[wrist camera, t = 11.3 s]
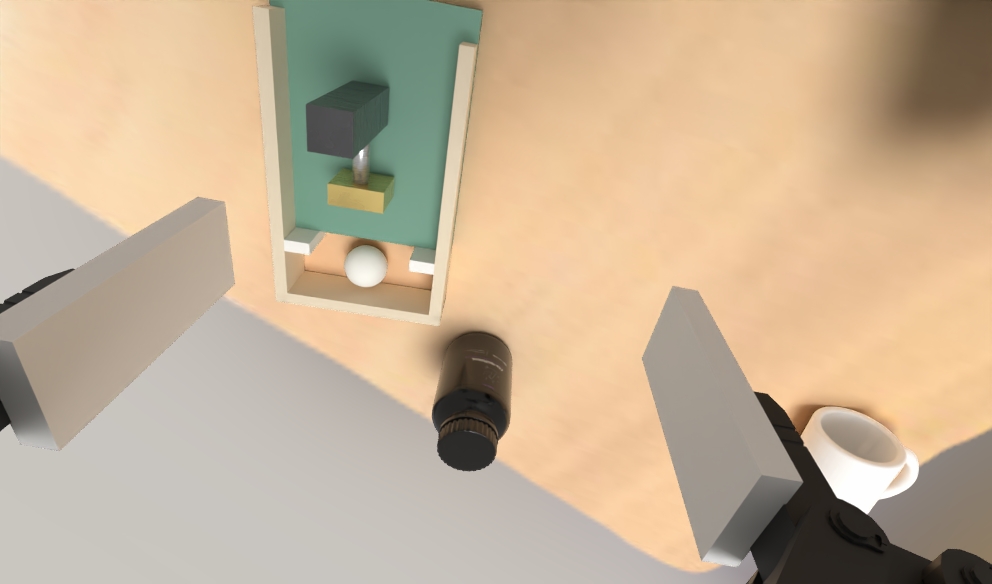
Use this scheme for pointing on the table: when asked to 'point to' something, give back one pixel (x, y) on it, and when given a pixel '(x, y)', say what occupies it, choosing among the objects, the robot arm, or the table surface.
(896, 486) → the mug
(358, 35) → the pitch
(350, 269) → the ball
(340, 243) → the table surface
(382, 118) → the uneven dumbbell
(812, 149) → the table surface
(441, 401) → the supplement bottle
